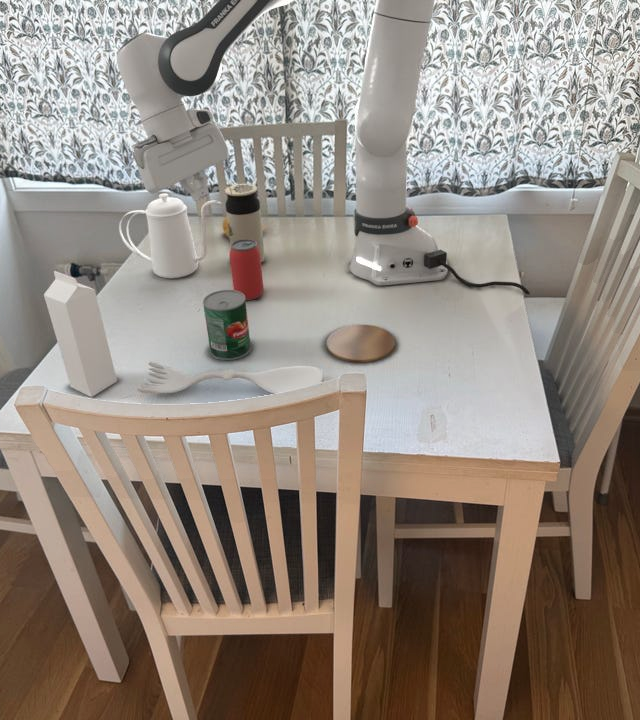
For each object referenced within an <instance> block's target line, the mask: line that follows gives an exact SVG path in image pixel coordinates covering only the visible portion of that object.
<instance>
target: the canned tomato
mask: <svg viewBox="0 0 640 720" xmlns="http://www.w3.org/2000/svg"><path fill="white" fill-rule="evenodd" d="M246 301H247V300H246V298H245V295H244V294H243V293H241V292H239V291H235V290H234V289H221V290H217V291H214V292H211V293H208V294H207V295H206V296H205V297H204V298H203V299H202V304H203V310H204V317H205V324H206V330H207V338H208V344H209V352H210V355H211V356H212V357H213V358H215V359H217V360H220V361H233V360H238V359H242V358H244V357H245V356H247V355H248V354H249V353H250V352H251V349H252V344H251V337H250V327H249V320H248V309H247V302H246Z"/></svg>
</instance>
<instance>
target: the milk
mask: <svg viewBox="0 0 640 720" xmlns="http://www.w3.org/2000/svg"><path fill="white" fill-rule="evenodd" d="M53 274H54V278H55V279H54V280H53V281H52V283H51V284H50V286H49V287H48V288H47V290H46V291H45V292H44V294H43V297H44V300H45V304H46V307H47V311H48V314H49V317H50V321H51V324H52V328H53V331H54V335H55V339H56V341H57V345H58V348H59V352H60V355H61V359H62V362H63V365H64V368H65V372H66V375H67V379H68V382H69V386H70V388H72V389H74V390H76V391H78V392H80V393H82V394H84V395H86V396H88V397H90V398H93V397H94V396H95V395H97V394H99V393H100V392H102V391H104V390H106V389H108V388H109V387H110V386H112V385H113V384H116V383H117V382H118V379H117V378H118V377H117V374H116V370H115V366H114V363H113V362H114V361H113V357H112V354H111V351H110V346H109V343H108V338H107V334H106V330H105V326H104V322H103V318H102V313H101V310H100V305H99V302H98V297H97V293H96V289H95V288H93V287H91V286H87V285H84V284H82V283H78V281H77V279H76V277H73V276H70V275H68V274H65V273H62V272H59V271H56V270H54V271H53Z"/></svg>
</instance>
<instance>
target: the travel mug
mask: <svg viewBox="0 0 640 720" xmlns="http://www.w3.org/2000/svg"><path fill="white" fill-rule="evenodd" d="M257 191H258V187H257V185H255V184H252V183H236V184H233V185H230V186H227V187H225V189H224V193H225V194H226V201H225V212H226V218H227V221H228V230H229V237H228V238H229V246H230V247H231V244H232V243H233V242H235V241H237V240H242V239H250V240H254V241H256V243H257V246H258V248H259V250H260V256H261V263H263V262H264V261H265V259H266V256H265V247H264V246H265V245H264V236H263V232H262V224H263V222H262V212H261V211H262V210H261V201H260V199H259V198H258V196H257Z"/></svg>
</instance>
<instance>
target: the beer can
mask: <svg viewBox="0 0 640 720" xmlns="http://www.w3.org/2000/svg"><path fill="white" fill-rule="evenodd" d="M229 263H230V272H231V279H232V288H233V290H235V291H239V292H241V293H243V294H244V295H245V298H246V300H245V301H252V300H256V299H258V298H260V297H261V296H262V295H263V294H264V292H265V291H264V279H263V268H262V267H263V266H262V262H261V256H260V250H259V248H258V246H257V243H256V241H254V240H250V239H242V240H237V241H235V242H233V243H232V244H231V246H230V250H229Z"/></svg>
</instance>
